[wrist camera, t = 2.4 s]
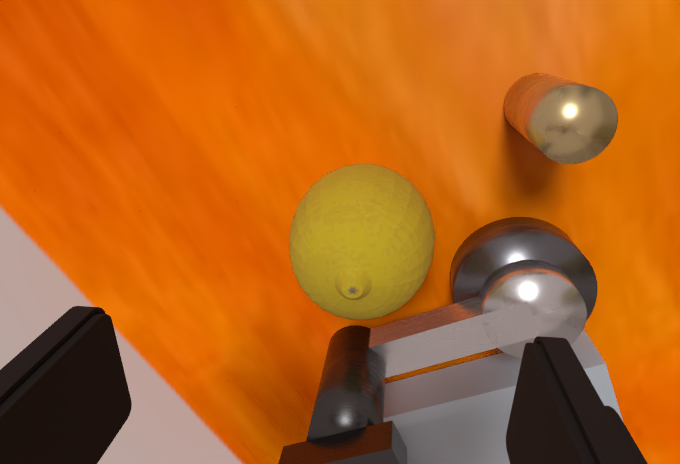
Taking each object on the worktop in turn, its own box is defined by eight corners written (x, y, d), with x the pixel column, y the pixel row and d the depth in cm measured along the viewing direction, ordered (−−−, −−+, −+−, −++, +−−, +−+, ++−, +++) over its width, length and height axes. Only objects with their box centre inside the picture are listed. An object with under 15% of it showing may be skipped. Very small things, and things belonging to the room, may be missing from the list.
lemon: (319, 259, 23) (281, 364, 16) (302, 150, 21) (249, 213, 14) (431, 252, 22) (446, 360, 15) (425, 138, 20) (439, 198, 13)
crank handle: (560, 246, 19) (640, 354, 12) (584, 324, 20) (668, 457, 14) (299, 330, 22) (258, 448, 16) (334, 391, 23) (308, 524, 17)
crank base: (620, 299, 22) (678, 370, 17) (472, 340, 24) (489, 413, 19) (556, 62, 18) (608, 72, 14) (387, 134, 20) (383, 164, 16)
